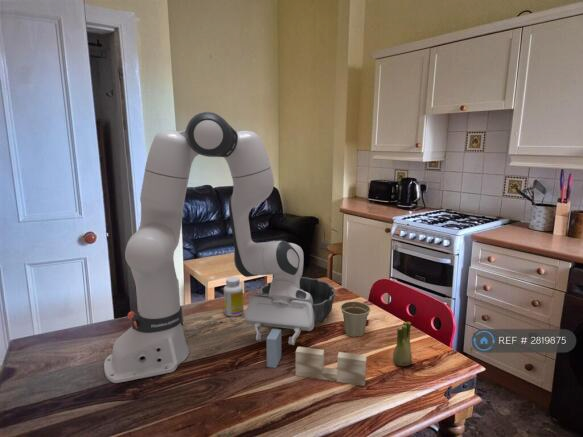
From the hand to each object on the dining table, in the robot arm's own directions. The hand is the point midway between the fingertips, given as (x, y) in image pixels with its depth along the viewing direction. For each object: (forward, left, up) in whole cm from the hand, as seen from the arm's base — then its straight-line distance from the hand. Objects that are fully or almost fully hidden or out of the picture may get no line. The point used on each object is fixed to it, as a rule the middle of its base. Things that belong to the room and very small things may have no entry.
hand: (274, 342), depth 105 cm
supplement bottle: (+2, +34, -6) cm, 34 cm away
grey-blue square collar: (0, 0, -6) cm, 6 cm away
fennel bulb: (+30, -19, -6) cm, 36 cm away
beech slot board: (+9, -14, -6) cm, 18 cm away
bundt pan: (+20, +20, -6) cm, 29 cm away
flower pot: (+30, +1, -6) cm, 30 cm away
